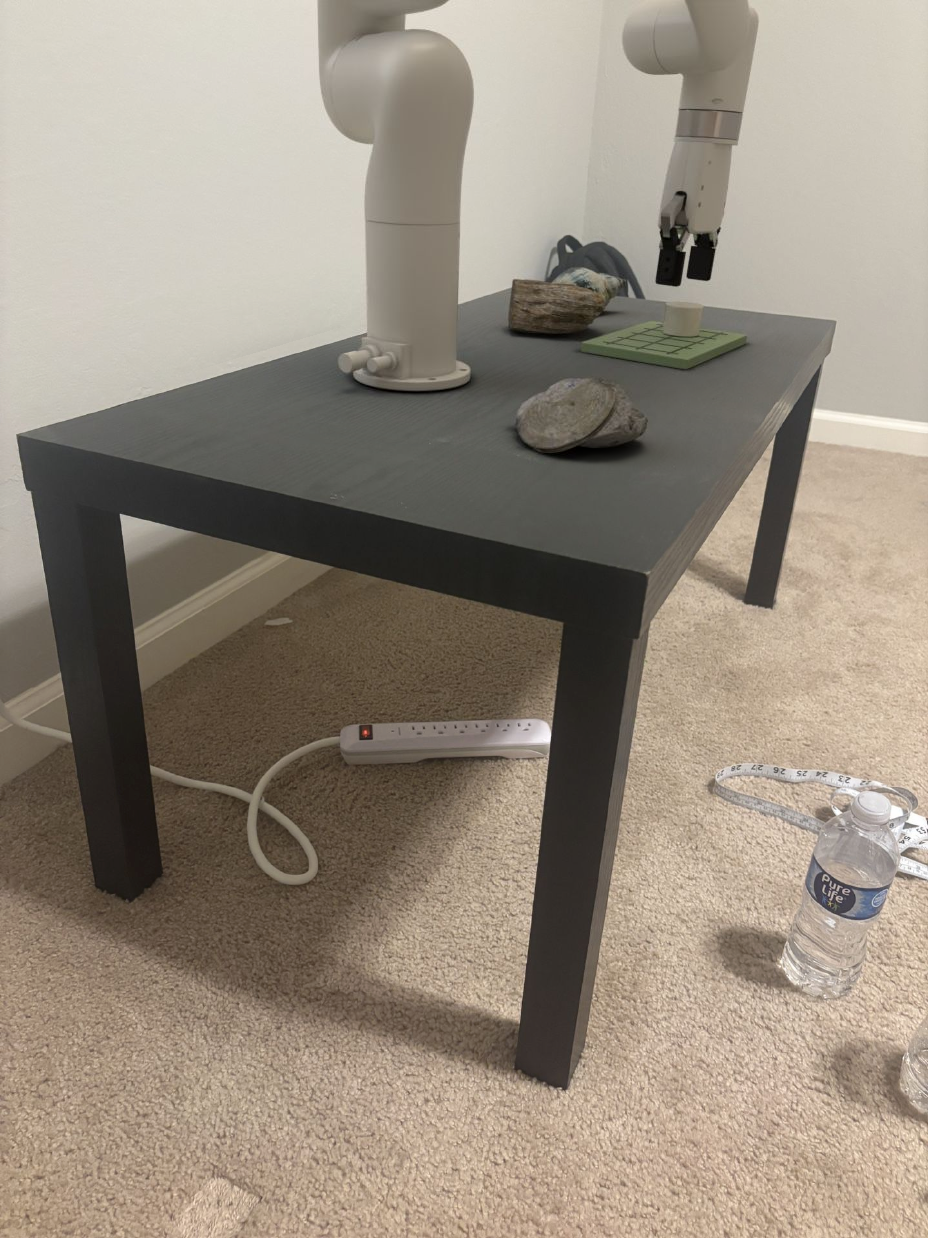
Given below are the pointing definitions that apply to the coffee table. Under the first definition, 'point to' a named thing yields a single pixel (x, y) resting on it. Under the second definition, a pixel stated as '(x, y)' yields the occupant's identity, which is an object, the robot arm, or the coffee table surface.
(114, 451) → the coffee table surface
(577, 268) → the seashell
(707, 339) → the board
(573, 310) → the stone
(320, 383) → the coffee table surface
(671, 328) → the beige cylinder
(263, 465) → the coffee table surface
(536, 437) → the fossilized seashell
